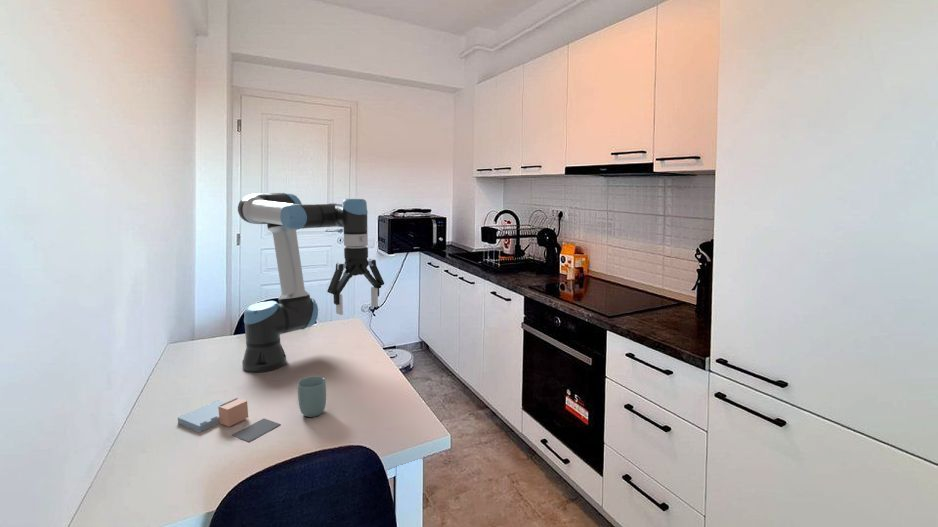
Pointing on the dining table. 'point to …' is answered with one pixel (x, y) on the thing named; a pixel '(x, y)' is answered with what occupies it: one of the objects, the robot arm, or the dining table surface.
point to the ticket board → (202, 417)
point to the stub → (233, 411)
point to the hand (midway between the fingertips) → (357, 310)
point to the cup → (312, 395)
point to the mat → (256, 430)
